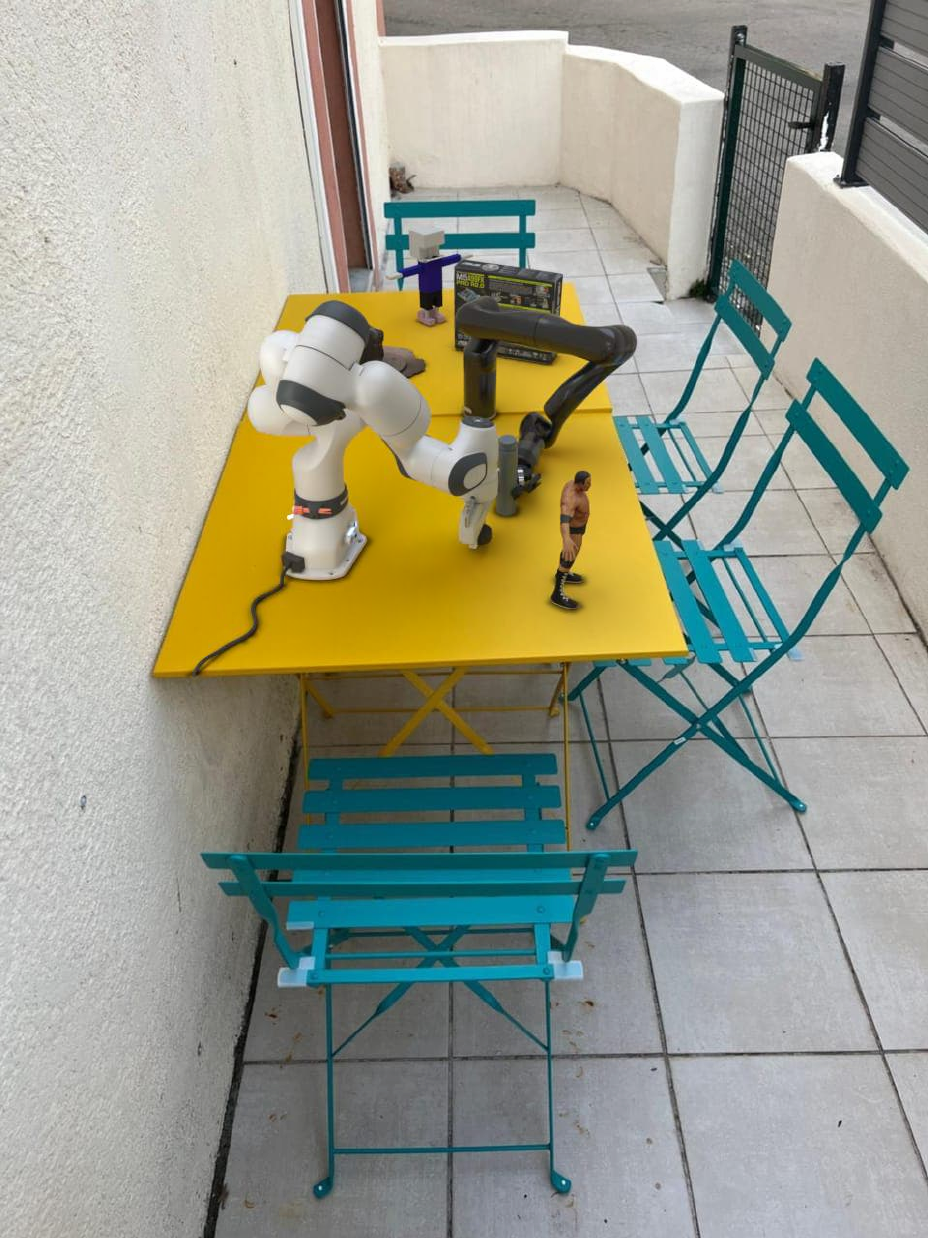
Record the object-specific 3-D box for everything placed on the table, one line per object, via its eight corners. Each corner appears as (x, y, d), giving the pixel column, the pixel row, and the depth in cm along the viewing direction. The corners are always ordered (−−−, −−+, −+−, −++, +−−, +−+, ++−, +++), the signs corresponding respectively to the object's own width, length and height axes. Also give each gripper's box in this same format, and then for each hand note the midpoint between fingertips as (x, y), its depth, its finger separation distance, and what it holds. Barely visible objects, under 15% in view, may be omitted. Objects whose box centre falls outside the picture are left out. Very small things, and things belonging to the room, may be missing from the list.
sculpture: (406, 397, 263) (403, 345, 252) (297, 384, 270) (290, 333, 259) (437, 352, 287) (436, 303, 277) (336, 341, 294) (331, 293, 284)
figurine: (575, 629, 182) (588, 506, 163) (545, 625, 183) (554, 502, 164) (587, 560, 200) (599, 442, 181) (559, 557, 201) (568, 439, 182)
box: (558, 356, 284) (564, 271, 267) (551, 365, 279) (556, 279, 262) (462, 341, 294) (461, 258, 277) (453, 349, 289) (452, 265, 271)
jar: (516, 505, 218) (518, 434, 205) (515, 516, 214) (517, 445, 201) (496, 504, 218) (497, 433, 205) (495, 515, 215) (496, 444, 202)
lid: (460, 536, 203) (461, 528, 201) (480, 527, 206) (480, 519, 204) (477, 549, 200) (478, 541, 198) (497, 539, 203) (497, 531, 201)
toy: (460, 304, 319) (459, 216, 299) (477, 312, 313) (477, 222, 294) (381, 329, 302) (375, 237, 283) (398, 337, 296) (393, 244, 277)
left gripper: (480, 513, 186) (479, 566, 194) (501, 465, 201) (500, 516, 210) (451, 509, 187) (452, 562, 196) (474, 461, 202) (474, 512, 211)
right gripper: (495, 442, 222) (474, 476, 210) (551, 451, 218) (533, 486, 206) (495, 468, 227) (474, 503, 214) (549, 477, 223) (532, 513, 211)
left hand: (477, 538), depth 203 cm, fingers closed on lid, 5 cm apart
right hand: (503, 494), depth 210 cm, fingers closed on jar, 5 cm apart
